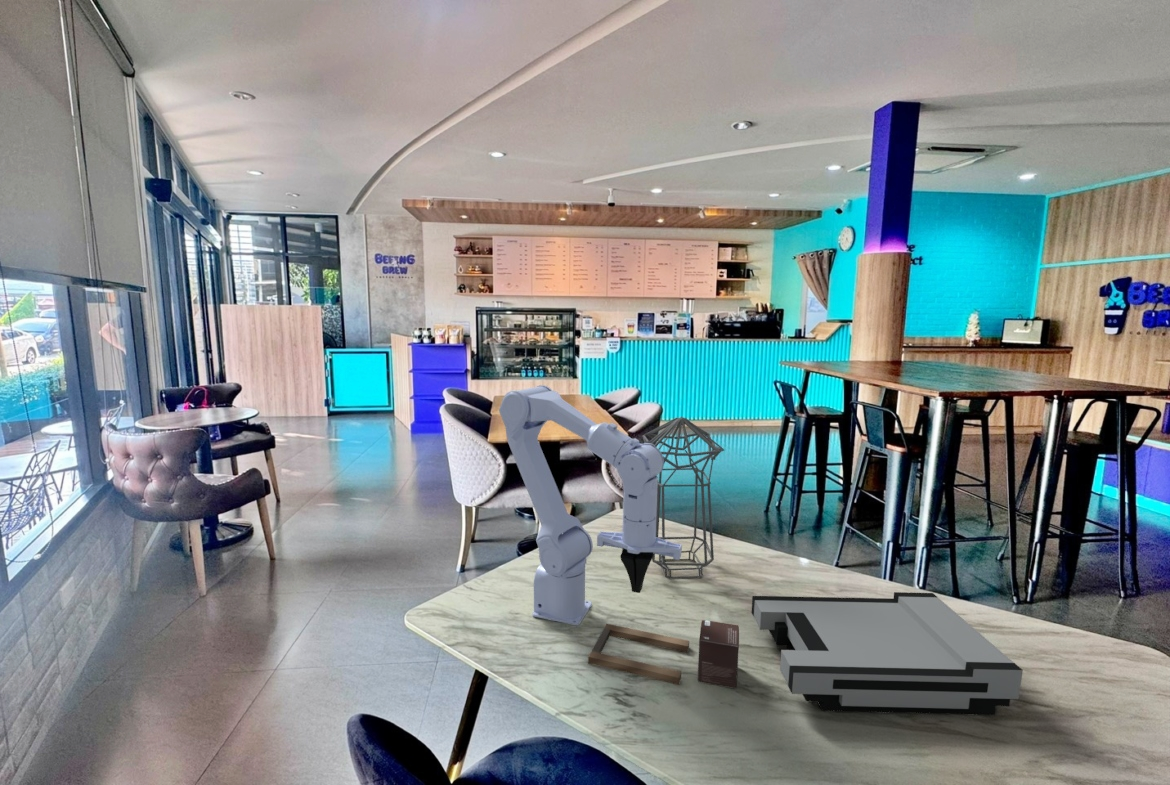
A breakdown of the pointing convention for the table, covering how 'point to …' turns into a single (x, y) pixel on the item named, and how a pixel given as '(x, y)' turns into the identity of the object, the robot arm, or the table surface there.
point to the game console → (886, 655)
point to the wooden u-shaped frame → (634, 666)
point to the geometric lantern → (715, 451)
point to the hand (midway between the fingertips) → (637, 589)
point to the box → (718, 654)
